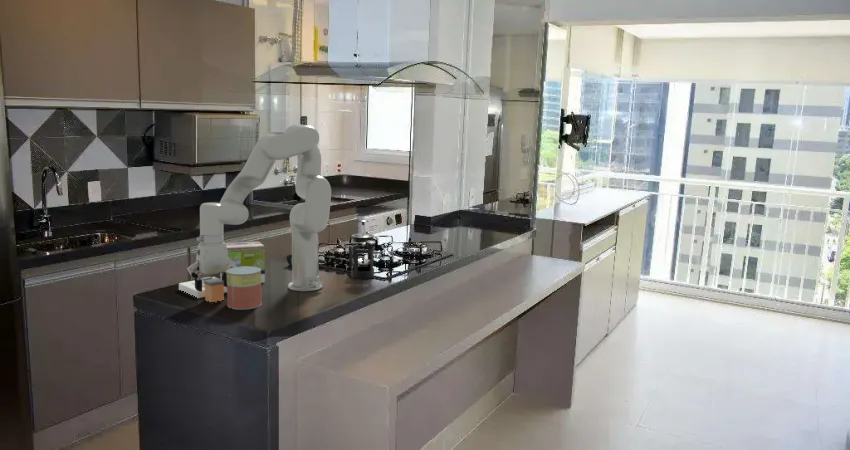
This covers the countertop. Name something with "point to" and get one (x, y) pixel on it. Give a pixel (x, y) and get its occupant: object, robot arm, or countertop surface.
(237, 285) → the canned food
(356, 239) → the french press
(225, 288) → the socket plate
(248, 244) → the tea box
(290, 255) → the can opener
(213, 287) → the plug
